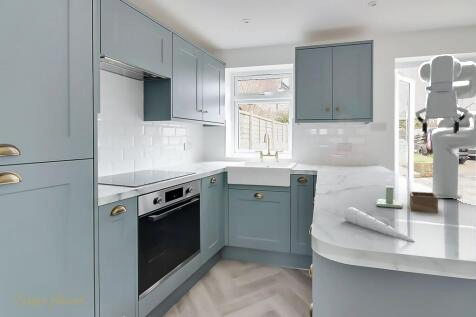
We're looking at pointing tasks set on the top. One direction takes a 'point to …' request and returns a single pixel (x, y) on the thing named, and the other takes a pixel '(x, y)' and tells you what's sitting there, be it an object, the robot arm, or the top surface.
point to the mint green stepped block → (389, 199)
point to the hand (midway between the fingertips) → (440, 133)
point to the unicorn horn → (372, 223)
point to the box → (423, 202)
